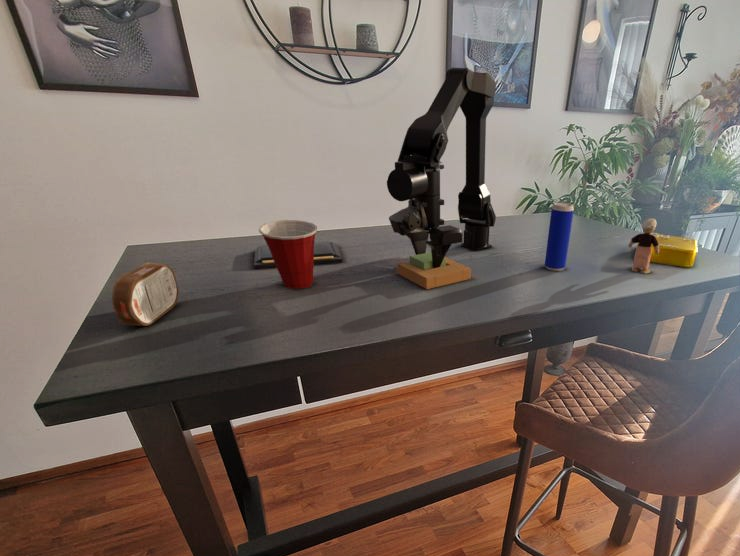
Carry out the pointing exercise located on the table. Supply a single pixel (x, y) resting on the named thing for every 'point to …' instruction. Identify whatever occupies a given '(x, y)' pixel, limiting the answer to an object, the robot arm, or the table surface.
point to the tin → (145, 294)
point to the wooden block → (435, 274)
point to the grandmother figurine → (644, 246)
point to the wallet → (322, 254)
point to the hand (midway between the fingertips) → (428, 266)
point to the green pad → (424, 261)
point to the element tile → (674, 250)
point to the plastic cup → (292, 250)
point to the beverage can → (559, 236)
